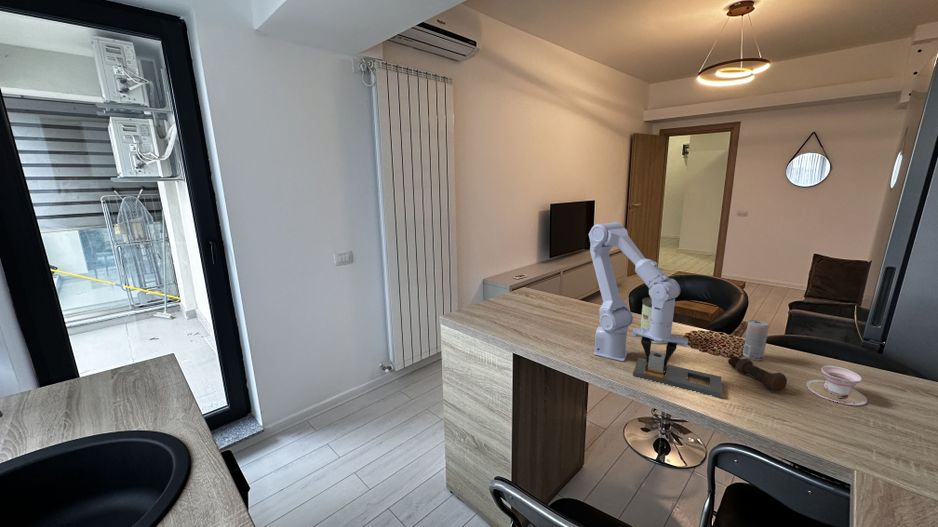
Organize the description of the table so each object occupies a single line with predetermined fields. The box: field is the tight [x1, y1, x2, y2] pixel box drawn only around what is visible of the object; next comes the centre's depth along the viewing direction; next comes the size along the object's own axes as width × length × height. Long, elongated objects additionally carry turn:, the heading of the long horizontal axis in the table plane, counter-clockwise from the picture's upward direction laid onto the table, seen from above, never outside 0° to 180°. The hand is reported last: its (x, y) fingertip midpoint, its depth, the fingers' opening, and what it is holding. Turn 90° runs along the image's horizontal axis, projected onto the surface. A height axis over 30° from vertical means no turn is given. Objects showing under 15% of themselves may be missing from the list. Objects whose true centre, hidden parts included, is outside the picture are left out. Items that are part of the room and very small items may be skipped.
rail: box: [632, 357, 723, 399], centre depth 109 cm, size 22×10×2 cm, turn 57°
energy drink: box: [742, 319, 770, 362], centre depth 120 cm, size 5×5×12 cm
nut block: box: [647, 350, 666, 375], centre depth 111 cm, size 4×4×6 cm
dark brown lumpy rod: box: [727, 356, 788, 393], centre depth 109 cm, size 6×5×15 cm
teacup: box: [805, 365, 868, 407], centre depth 100 cm, size 12×12×6 cm
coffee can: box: [639, 296, 667, 345], centre depth 135 cm, size 10×10×14 cm
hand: (656, 363), depth 111 cm, fingers closed on nut block, 4 cm apart
